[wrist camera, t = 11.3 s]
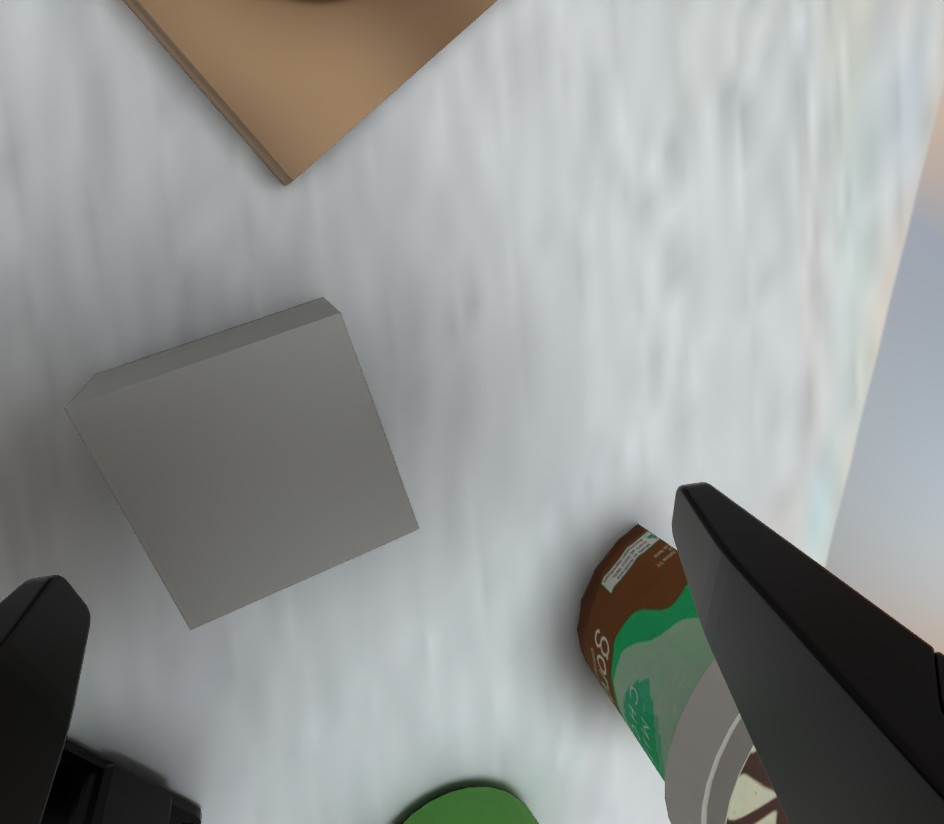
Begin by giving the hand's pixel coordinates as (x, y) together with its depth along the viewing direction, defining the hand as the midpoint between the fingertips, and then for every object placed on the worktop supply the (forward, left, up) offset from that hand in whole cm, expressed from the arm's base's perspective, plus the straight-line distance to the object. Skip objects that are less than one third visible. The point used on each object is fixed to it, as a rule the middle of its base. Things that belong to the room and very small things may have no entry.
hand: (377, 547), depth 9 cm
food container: (+2, -19, -13) cm, 23 cm away
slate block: (-2, -1, -13) cm, 13 cm away
